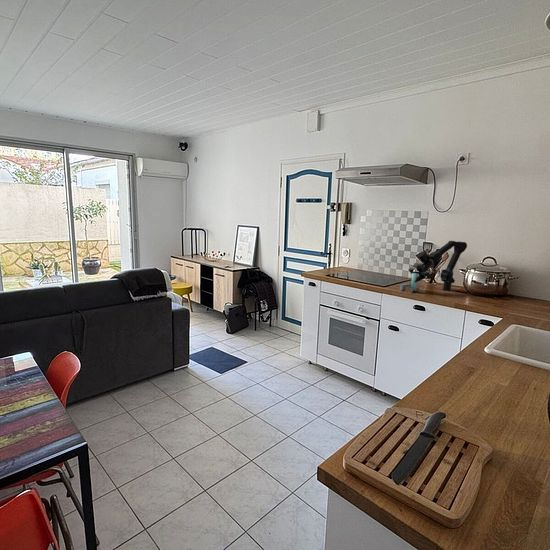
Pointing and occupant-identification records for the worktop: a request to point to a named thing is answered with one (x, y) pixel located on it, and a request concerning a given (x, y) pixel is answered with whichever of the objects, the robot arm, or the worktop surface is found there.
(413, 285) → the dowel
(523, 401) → the worktop surface
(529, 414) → the worktop surface
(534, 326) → the worktop surface
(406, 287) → the block
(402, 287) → the backstop
